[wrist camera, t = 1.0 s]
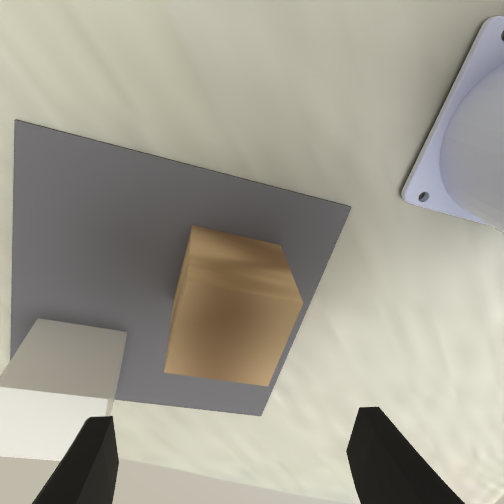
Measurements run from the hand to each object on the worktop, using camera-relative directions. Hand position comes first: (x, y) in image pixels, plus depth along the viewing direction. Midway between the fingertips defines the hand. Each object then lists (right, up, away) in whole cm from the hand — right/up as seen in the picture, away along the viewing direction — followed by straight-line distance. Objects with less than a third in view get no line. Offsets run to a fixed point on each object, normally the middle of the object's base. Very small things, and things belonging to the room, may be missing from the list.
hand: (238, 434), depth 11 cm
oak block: (-1, +4, +8) cm, 9 cm away
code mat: (-4, +3, +9) cm, 10 cm away
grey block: (-9, 0, +10) cm, 13 cm away
